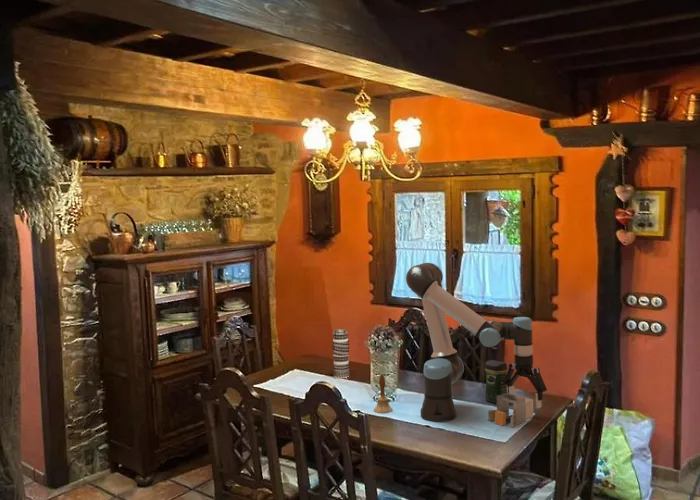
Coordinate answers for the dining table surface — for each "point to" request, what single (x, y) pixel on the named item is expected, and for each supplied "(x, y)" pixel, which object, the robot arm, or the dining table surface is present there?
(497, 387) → the coffee jar
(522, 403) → the housing
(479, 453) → the dining table surface
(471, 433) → the dining table surface
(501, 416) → the plug
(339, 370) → the decorative candle
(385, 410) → the hand bell
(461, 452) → the dining table surface
